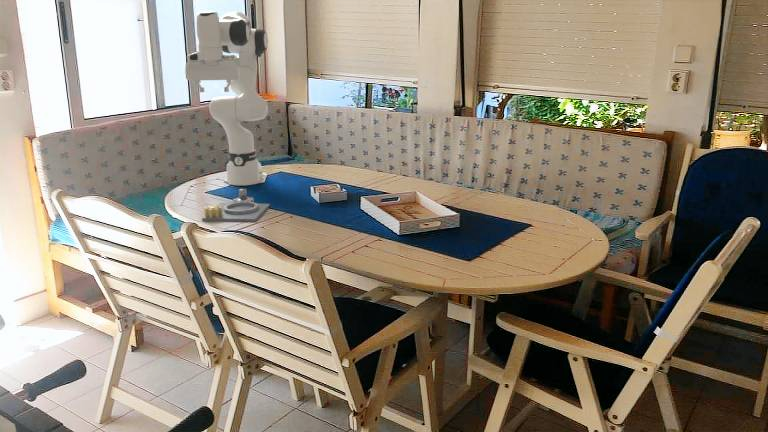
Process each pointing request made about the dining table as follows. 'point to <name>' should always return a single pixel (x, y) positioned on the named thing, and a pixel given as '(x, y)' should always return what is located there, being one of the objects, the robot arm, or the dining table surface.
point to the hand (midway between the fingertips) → (214, 92)
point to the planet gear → (243, 197)
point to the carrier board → (235, 211)
